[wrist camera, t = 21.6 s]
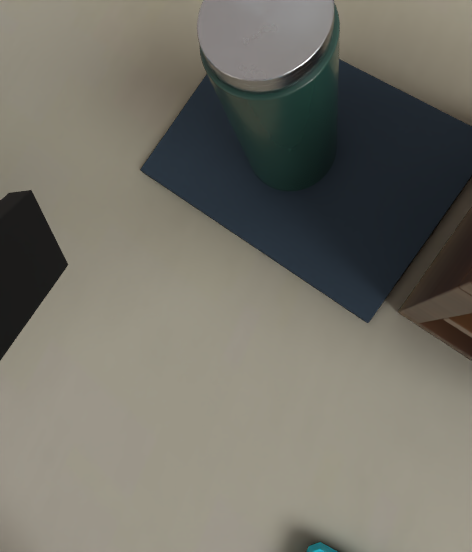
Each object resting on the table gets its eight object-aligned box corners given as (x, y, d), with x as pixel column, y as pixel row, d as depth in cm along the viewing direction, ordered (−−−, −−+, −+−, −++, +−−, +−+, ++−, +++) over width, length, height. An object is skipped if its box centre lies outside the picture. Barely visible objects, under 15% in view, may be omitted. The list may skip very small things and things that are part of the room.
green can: (231, 163, 29) (164, 45, 17) (280, 93, 29) (246, -73, 17) (303, 208, 27) (281, 111, 16) (354, 133, 27) (371, -18, 16)
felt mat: (142, 171, 31) (139, 169, 30) (249, 17, 31) (248, 12, 30) (367, 323, 26) (368, 323, 26) (495, 142, 26) (497, 139, 26)
